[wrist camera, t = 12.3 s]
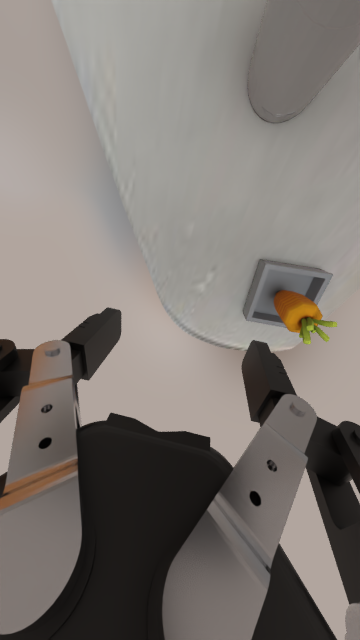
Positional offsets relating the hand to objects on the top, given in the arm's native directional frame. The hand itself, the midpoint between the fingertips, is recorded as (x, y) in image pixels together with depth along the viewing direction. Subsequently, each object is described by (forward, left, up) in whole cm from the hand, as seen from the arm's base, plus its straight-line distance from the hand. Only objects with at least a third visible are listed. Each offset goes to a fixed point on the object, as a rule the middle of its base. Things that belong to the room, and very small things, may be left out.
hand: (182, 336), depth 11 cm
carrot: (+4, +16, -27) cm, 31 cm away
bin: (+4, +16, -27) cm, 32 cm away
